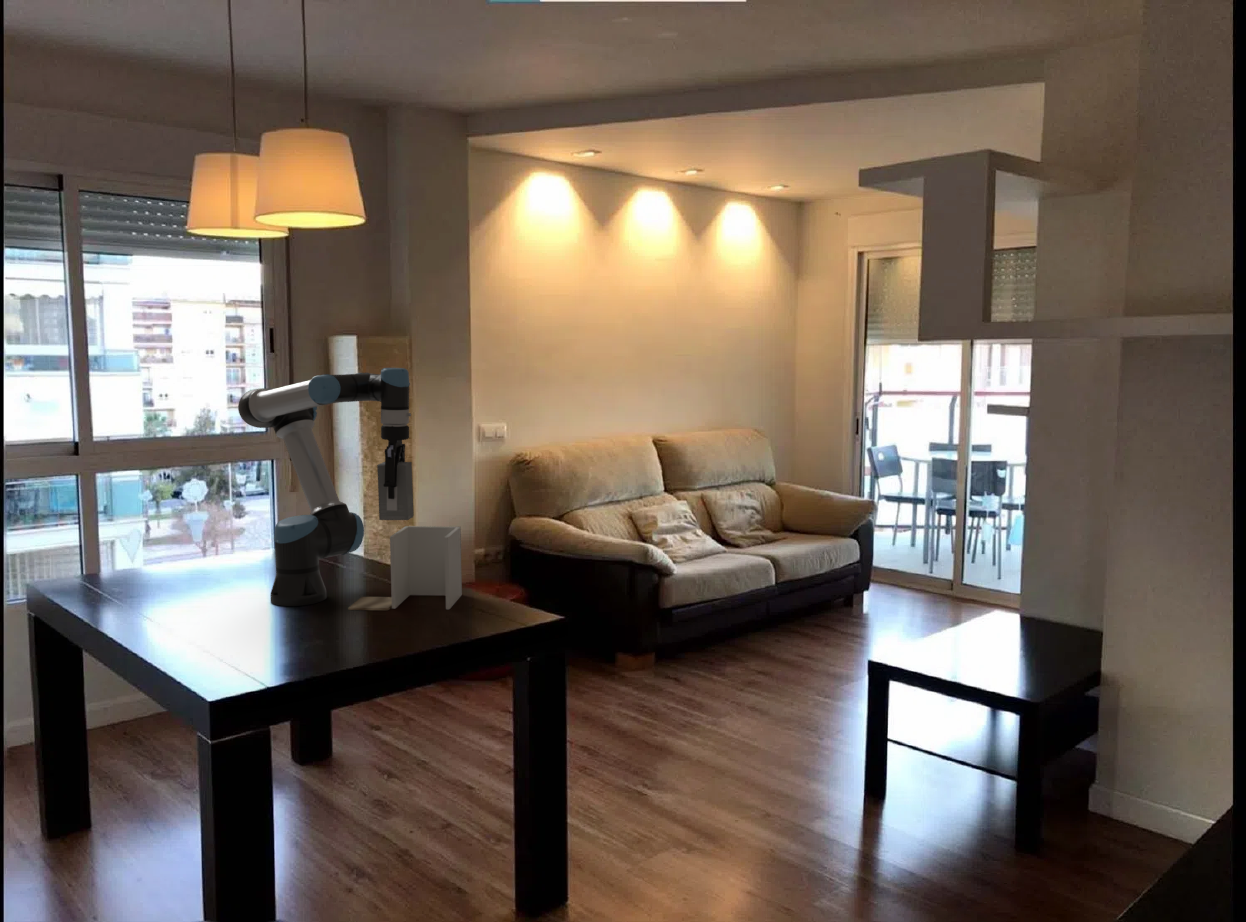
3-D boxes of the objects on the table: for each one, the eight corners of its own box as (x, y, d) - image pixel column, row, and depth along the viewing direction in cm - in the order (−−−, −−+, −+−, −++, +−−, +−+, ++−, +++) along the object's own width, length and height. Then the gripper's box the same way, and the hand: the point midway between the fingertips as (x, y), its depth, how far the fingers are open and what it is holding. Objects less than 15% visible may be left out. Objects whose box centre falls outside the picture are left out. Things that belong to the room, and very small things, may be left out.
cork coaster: (348, 609, 275) (348, 607, 275) (361, 598, 287) (361, 596, 286) (388, 610, 274) (387, 608, 274) (399, 599, 286) (399, 597, 286)
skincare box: (413, 517, 281) (414, 461, 280) (406, 521, 274) (407, 463, 273) (384, 516, 282) (384, 460, 280) (376, 520, 275) (376, 462, 273)
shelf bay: (391, 608, 276) (389, 536, 274) (407, 594, 292) (405, 526, 290) (449, 609, 275) (448, 537, 273) (461, 594, 291) (460, 526, 289)
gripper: (400, 428, 265) (400, 514, 268) (416, 421, 284) (416, 501, 287) (372, 428, 265) (372, 514, 268) (390, 420, 284) (390, 501, 288)
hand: (395, 507), depth 278 cm, fingers closed on skincare box, 7 cm apart
